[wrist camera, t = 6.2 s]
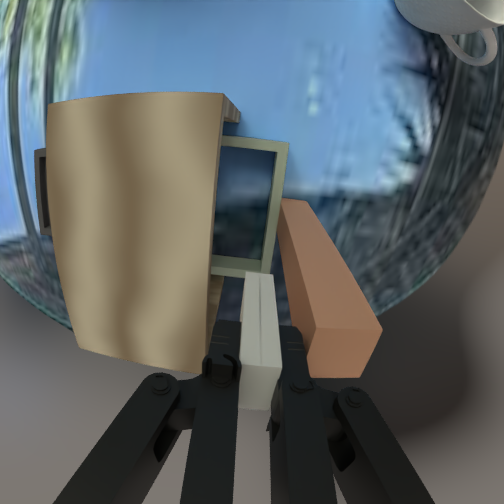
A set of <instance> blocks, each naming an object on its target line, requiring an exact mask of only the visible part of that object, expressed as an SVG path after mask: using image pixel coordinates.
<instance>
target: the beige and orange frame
mask: <svg viewBox="0 0 504 504" xmlns="http://www.w3.org/2000/svg"><path fill="white" fill-rule="evenodd" d="M221 146H230V147H240V148H250V149H258V150H266V151H274V152H275V159H274V167H273V174H272V182H271V189H270V196H269V204H268V211H267V218H266V225H265V232H264V239H263V246H262V253H261V260H256V259H247V258H238V257H230V256H221V255H212V262H211V274H214V275H223V276H231V277H240V278H245V275H246V272H254V273H262V274H270V268H271V262H272V256H273V250H274V243H275V237H276V231H277V236H278V241H279V247H280V253H281V259H282V265H283V271H284V277H285V283H286V289H287V295H288V301H289V307H290V314H291V320H292V326H295V327H297V328H298V330H299V331H300V332H301V333H302V336H303V341H304V347H305V352H306V357H307V362H308V368H309V373H310V377H311V378H351V377H352V378H354V377H360V375H361V374H362V371H363V370H364V367H365V366H366V364H367V362H368V360H369V358H370V356H371V354H372V352H373V350H374V348H375V346H376V344H377V341H378V339H379V337H380V335H381V332H382V331H383V330H382V328H381V326H380V324H379V322H378V320H377V318H376V316H375V315H374V313H373V311H372V309H371V307H370V305H369V304H368V302H367V300H366V298H365V296H364V295H363V293H362V291H361V289H360V287H359V286H358V284H357V282H356V281H355V279H354V277H353V275H352V274H351V272H350V270H349V268H348V267H347V265H346V263H345V262H344V260H343V258H342V257H341V255H340V253H339V252H338V250H337V248H336V247H335V245H334V244H333V242H332V240H331V239H330V237H329V236H328V234H327V232H326V231H325V229H324V228H323V226H322V224H321V223H320V221H319V220H318V218H317V217H316V215H315V214H314V212H313V210H312V209H311V207H310V206H309V204H308V203H307V201H302V200H294V199H287V198H282V191H283V184H284V177H285V171H286V164H287V156H288V149H289V143H287V142H280V141H273V140H265V139H257V138H248V137H239V136H228V135H222V140H221Z"/></svg>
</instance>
